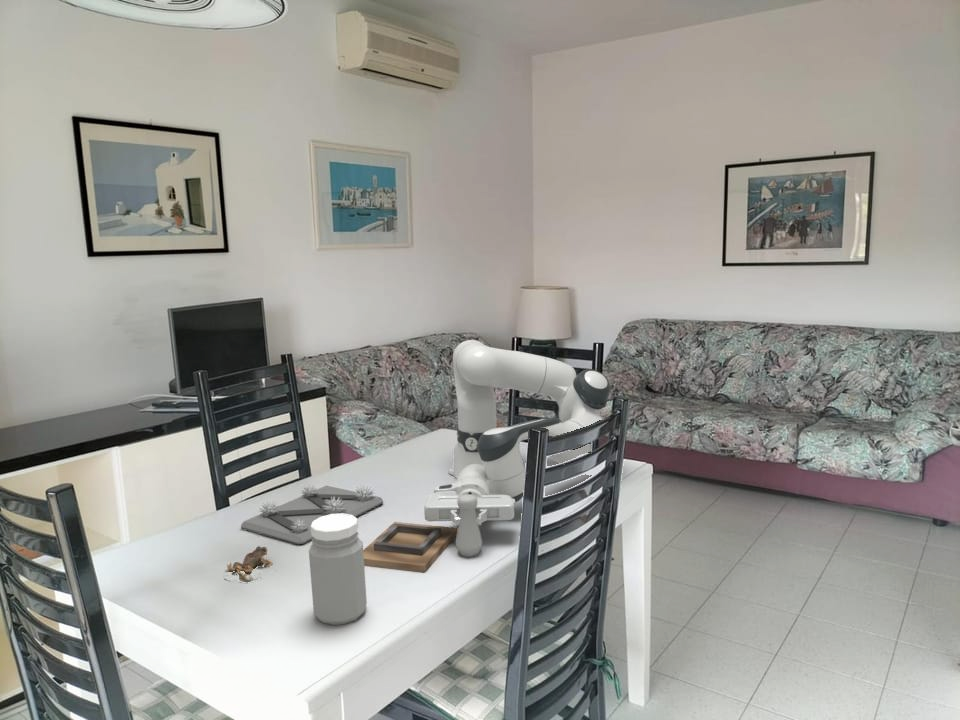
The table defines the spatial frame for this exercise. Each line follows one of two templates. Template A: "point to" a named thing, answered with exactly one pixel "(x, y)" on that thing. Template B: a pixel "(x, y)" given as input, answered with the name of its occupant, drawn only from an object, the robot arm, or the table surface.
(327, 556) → the jar
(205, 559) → the table surface
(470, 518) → the salt shaker
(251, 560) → the frog figurine
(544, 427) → the robot arm
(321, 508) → the decorative plate
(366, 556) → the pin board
